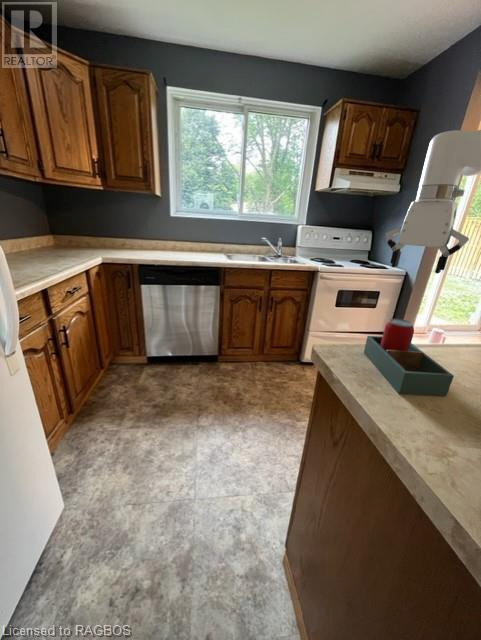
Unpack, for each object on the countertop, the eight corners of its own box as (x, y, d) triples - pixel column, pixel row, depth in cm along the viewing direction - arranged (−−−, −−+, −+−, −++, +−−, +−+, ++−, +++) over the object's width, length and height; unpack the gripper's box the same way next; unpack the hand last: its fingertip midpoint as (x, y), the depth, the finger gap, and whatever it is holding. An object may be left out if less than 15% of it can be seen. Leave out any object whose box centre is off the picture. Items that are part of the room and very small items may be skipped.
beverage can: (409, 366, 73) (422, 325, 69) (391, 370, 71) (403, 328, 67) (388, 355, 79) (399, 316, 75) (371, 358, 77) (381, 318, 73)
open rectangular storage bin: (399, 354, 80) (404, 336, 78) (446, 397, 61) (454, 373, 59) (363, 352, 80) (367, 334, 78) (398, 394, 61) (405, 370, 59)
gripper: (484, 196, 60) (459, 273, 66) (398, 197, 71) (383, 263, 77) (482, 193, 55) (454, 277, 61) (390, 195, 66) (374, 266, 72)
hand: (415, 269), depth 69 cm, fingers open, 9 cm apart
